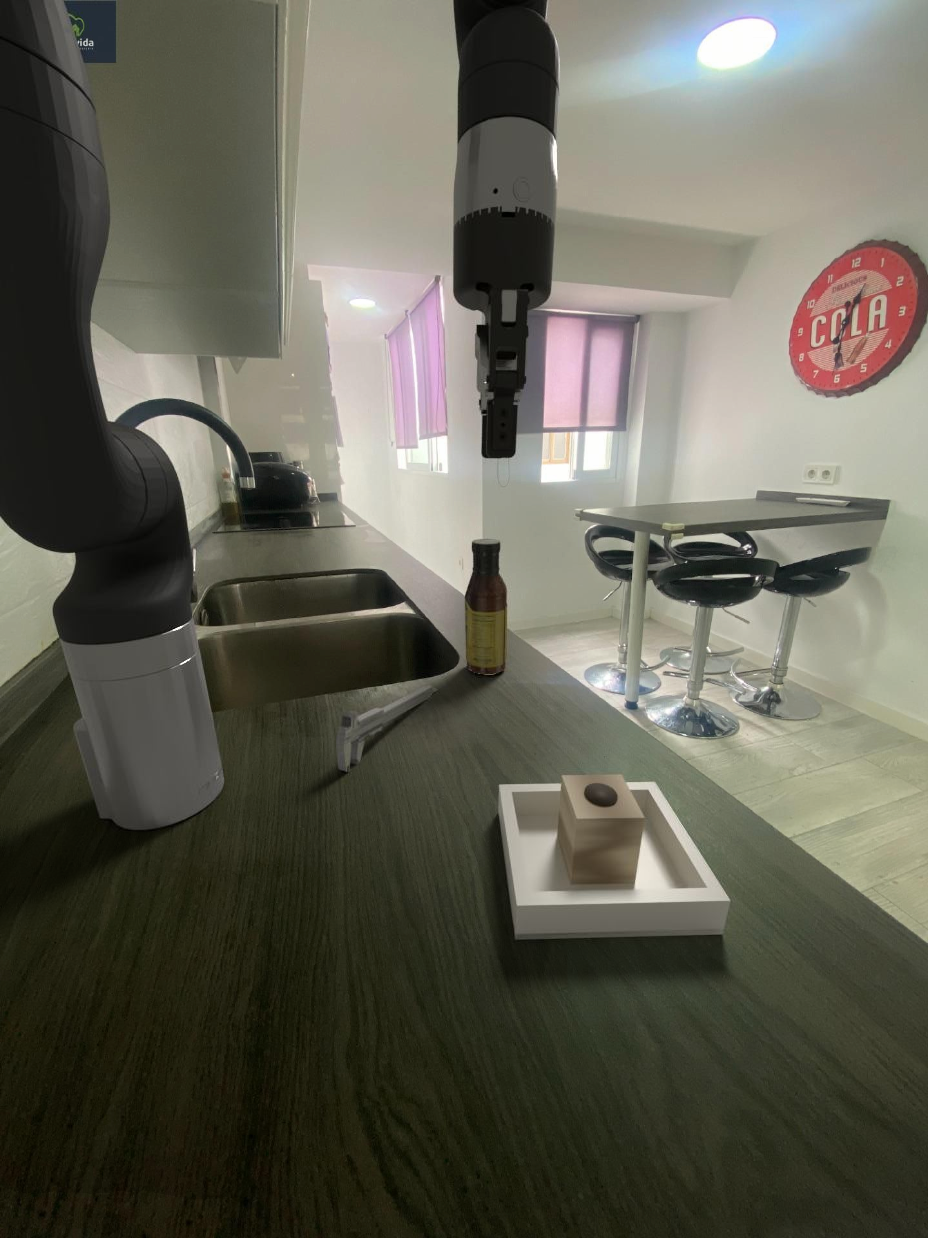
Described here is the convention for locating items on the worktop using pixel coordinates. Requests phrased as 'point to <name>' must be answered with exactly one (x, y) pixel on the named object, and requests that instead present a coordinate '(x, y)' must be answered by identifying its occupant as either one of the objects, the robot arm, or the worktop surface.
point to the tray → (652, 906)
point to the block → (599, 829)
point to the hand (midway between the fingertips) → (496, 458)
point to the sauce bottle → (486, 610)
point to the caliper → (371, 726)
